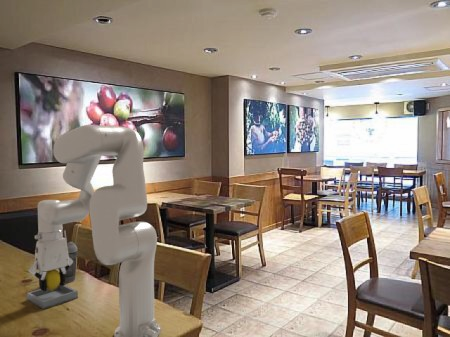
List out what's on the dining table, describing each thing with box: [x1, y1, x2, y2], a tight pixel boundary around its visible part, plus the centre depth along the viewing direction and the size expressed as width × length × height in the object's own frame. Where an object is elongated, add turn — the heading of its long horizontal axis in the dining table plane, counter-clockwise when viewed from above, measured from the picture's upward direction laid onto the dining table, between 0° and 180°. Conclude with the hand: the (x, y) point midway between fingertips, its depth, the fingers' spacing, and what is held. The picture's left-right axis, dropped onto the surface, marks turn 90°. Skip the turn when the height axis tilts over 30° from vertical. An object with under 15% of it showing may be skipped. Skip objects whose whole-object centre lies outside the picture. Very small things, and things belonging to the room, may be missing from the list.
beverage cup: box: [63, 230, 79, 284], centre depth 149 cm, size 7×7×20 cm
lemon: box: [45, 269, 60, 291], centre depth 131 cm, size 6×6×8 cm
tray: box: [26, 284, 79, 310], centre depth 131 cm, size 12×12×2 cm
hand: (52, 287), depth 131 cm, fingers closed on lemon, 5 cm apart
